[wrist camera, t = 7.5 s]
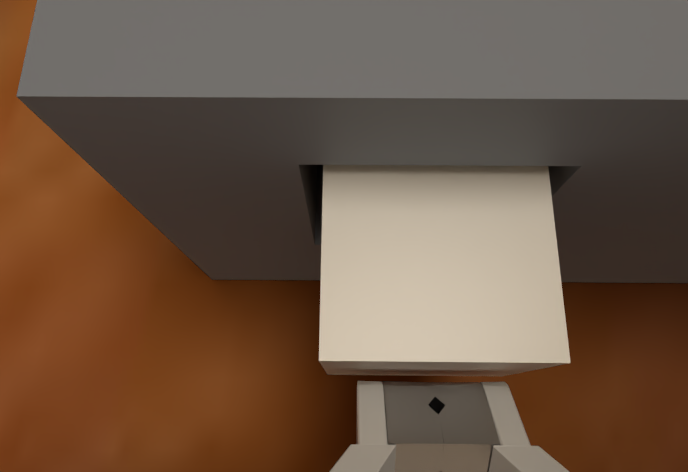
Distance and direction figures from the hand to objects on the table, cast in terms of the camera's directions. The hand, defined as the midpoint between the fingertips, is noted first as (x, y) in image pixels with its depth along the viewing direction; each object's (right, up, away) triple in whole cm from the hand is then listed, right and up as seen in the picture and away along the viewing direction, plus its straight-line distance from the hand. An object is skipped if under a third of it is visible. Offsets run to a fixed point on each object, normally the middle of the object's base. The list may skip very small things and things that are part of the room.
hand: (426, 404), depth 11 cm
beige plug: (0, +5, +3) cm, 6 cm away
